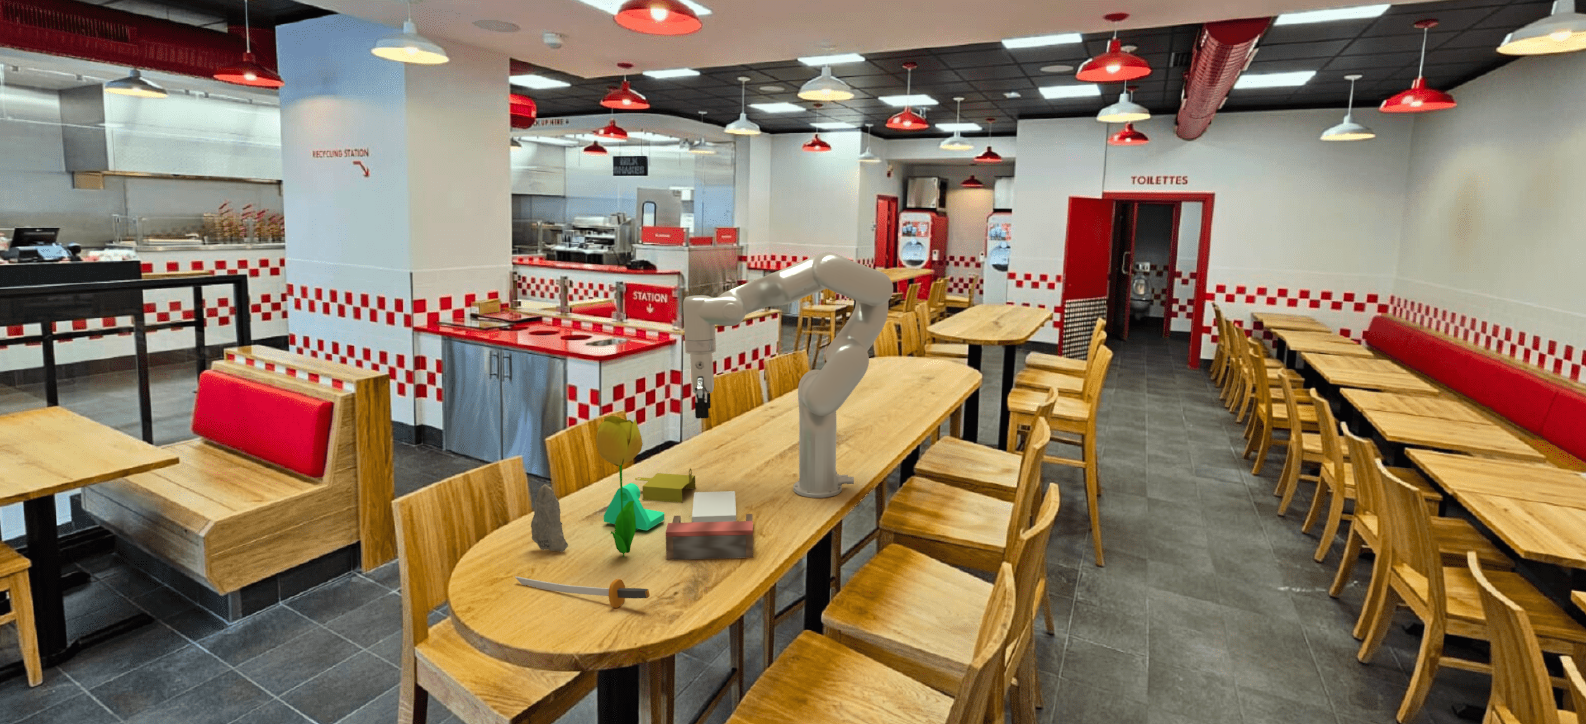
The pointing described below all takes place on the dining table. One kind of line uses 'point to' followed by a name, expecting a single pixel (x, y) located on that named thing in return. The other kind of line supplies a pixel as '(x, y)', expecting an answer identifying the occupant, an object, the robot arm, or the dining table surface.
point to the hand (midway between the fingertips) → (703, 413)
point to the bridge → (709, 539)
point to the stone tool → (547, 521)
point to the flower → (620, 469)
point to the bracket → (667, 487)
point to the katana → (592, 590)
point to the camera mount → (642, 516)
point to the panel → (714, 507)
